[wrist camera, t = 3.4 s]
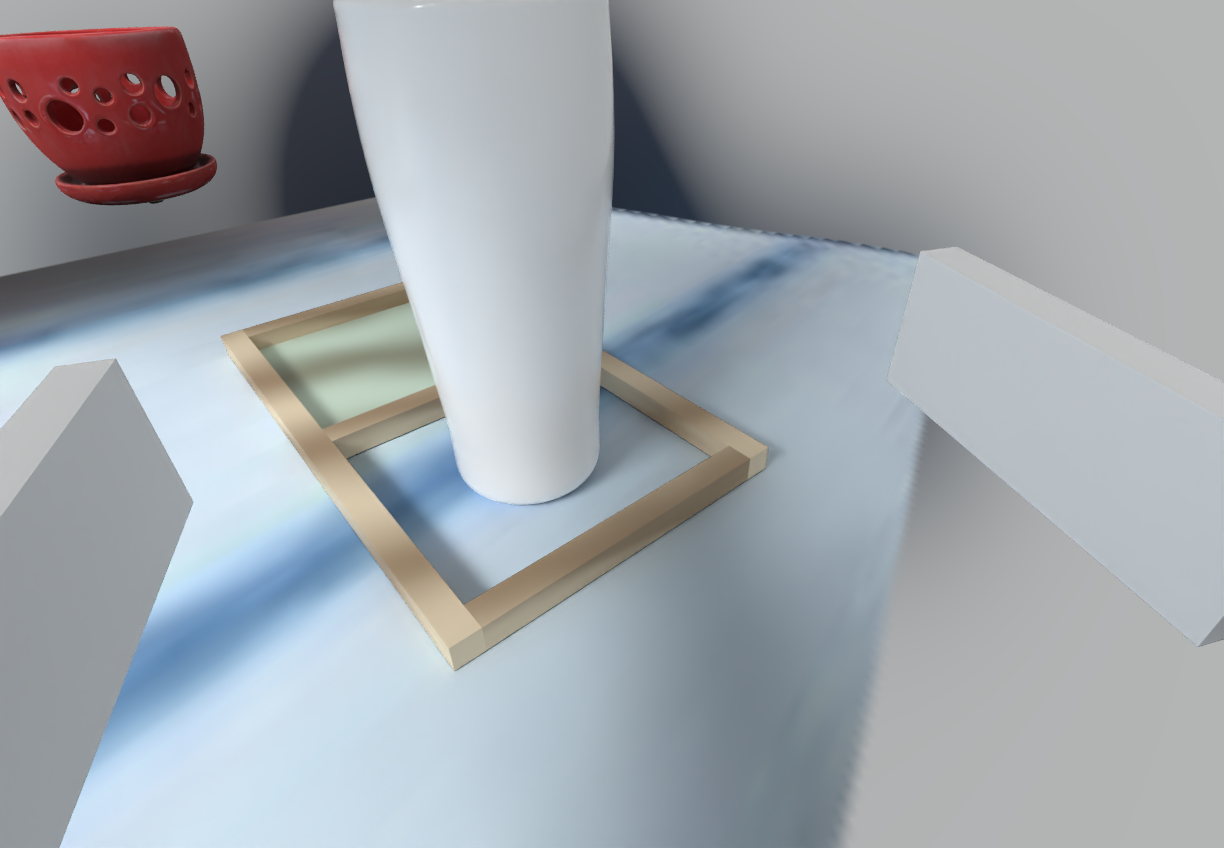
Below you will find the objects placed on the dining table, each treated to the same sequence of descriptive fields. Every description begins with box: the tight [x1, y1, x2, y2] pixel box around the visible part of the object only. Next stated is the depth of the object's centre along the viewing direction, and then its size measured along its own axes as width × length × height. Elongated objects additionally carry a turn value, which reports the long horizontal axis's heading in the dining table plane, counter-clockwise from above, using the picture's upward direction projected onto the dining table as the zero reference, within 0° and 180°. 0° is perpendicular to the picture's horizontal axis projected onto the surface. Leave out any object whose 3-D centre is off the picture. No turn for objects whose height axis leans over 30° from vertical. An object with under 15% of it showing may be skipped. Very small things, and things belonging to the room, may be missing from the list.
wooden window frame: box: [221, 282, 768, 671], centre depth 28 cm, size 23×13×1 cm, turn 40°
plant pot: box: [0, 27, 217, 205], centre depth 52 cm, size 13×13×12 cm
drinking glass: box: [333, 0, 614, 505], centre depth 20 cm, size 7×7×15 cm
